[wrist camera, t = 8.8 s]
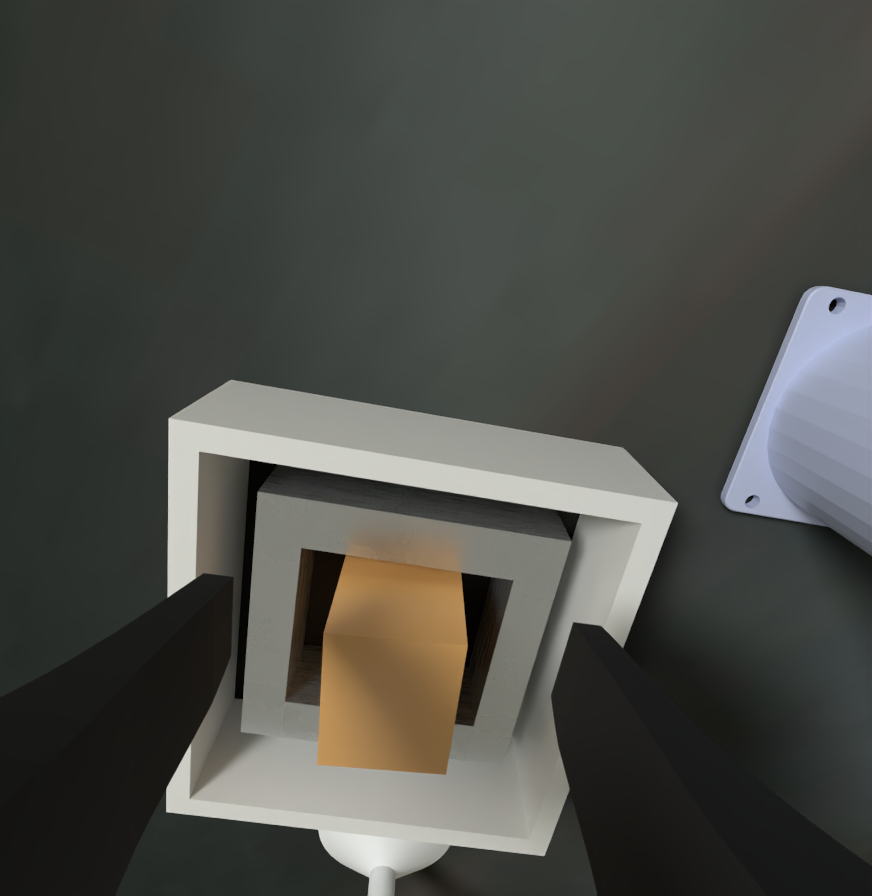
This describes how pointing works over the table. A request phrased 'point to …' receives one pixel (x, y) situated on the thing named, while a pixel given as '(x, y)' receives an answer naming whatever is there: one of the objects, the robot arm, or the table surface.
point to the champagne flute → (380, 857)
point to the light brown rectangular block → (392, 667)
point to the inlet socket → (409, 542)
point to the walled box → (426, 466)
